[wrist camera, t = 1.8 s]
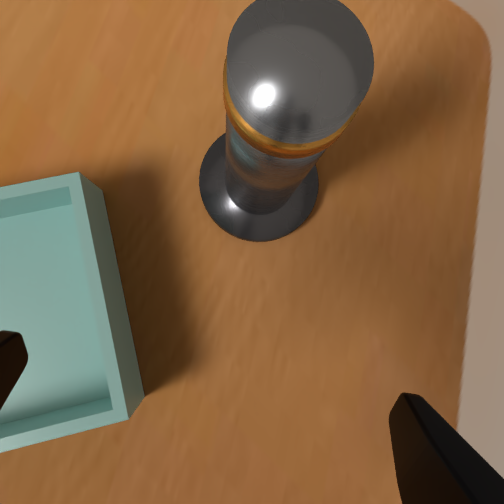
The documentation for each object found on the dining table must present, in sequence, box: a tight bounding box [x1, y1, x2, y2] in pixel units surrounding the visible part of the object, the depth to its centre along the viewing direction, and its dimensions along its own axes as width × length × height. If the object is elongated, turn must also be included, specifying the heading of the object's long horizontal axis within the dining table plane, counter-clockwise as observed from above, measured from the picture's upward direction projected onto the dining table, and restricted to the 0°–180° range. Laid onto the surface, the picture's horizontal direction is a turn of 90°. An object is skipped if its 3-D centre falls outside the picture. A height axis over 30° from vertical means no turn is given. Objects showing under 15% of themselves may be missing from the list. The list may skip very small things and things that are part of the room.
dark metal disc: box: [199, 133, 318, 242], centre depth 22 cm, size 7×7×1 cm
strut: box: [223, 0, 374, 215], centre depth 16 cm, size 4×4×12 cm
